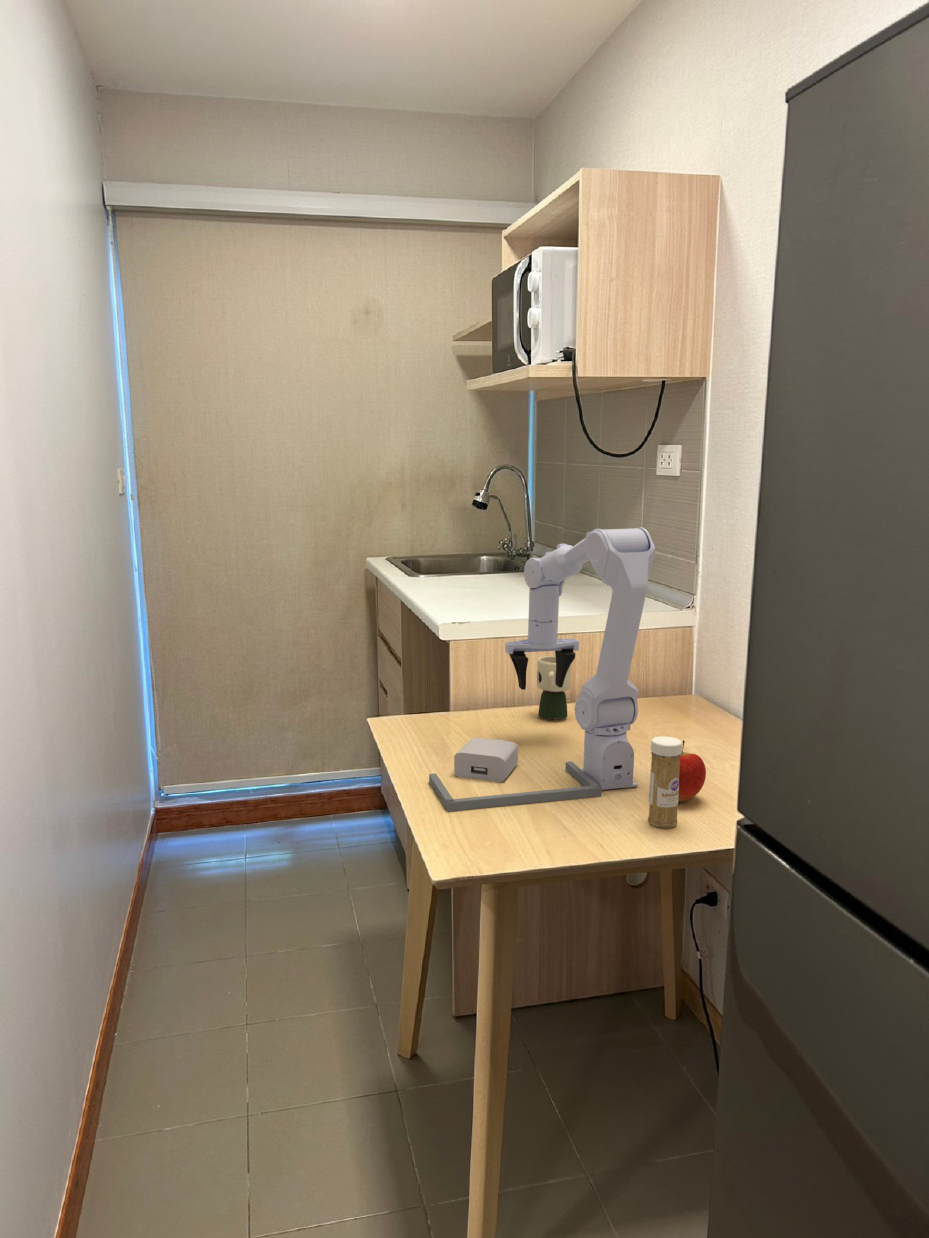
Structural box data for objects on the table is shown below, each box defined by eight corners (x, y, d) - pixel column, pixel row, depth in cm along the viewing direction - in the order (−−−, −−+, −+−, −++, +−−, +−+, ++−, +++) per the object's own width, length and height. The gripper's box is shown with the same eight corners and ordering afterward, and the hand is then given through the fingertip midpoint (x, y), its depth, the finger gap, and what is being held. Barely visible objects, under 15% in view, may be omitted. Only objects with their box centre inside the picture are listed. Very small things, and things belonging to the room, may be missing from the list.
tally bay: (601, 796, 149) (601, 787, 148) (447, 811, 142) (447, 802, 141) (571, 769, 161) (571, 761, 161) (429, 782, 154) (429, 773, 154)
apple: (644, 800, 147) (646, 742, 145) (667, 786, 153) (670, 730, 151) (689, 813, 142) (692, 753, 140) (711, 798, 148) (715, 741, 146)
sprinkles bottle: (668, 831, 135) (673, 746, 132) (642, 823, 138) (645, 740, 135) (682, 822, 138) (687, 739, 136) (656, 814, 141) (660, 733, 139)
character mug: (540, 709, 198) (541, 652, 196) (572, 712, 196) (573, 654, 194) (532, 724, 187) (533, 664, 185) (566, 726, 186) (568, 666, 183)
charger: (526, 756, 168) (504, 783, 154) (479, 751, 171) (454, 777, 157) (526, 732, 168) (504, 757, 154) (479, 727, 170) (454, 751, 156)
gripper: (570, 613, 178) (567, 679, 181) (501, 616, 174) (499, 683, 177) (584, 621, 171) (581, 689, 174) (512, 624, 167) (510, 693, 170)
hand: (540, 687), depth 175 cm, fingers open, 7 cm apart
